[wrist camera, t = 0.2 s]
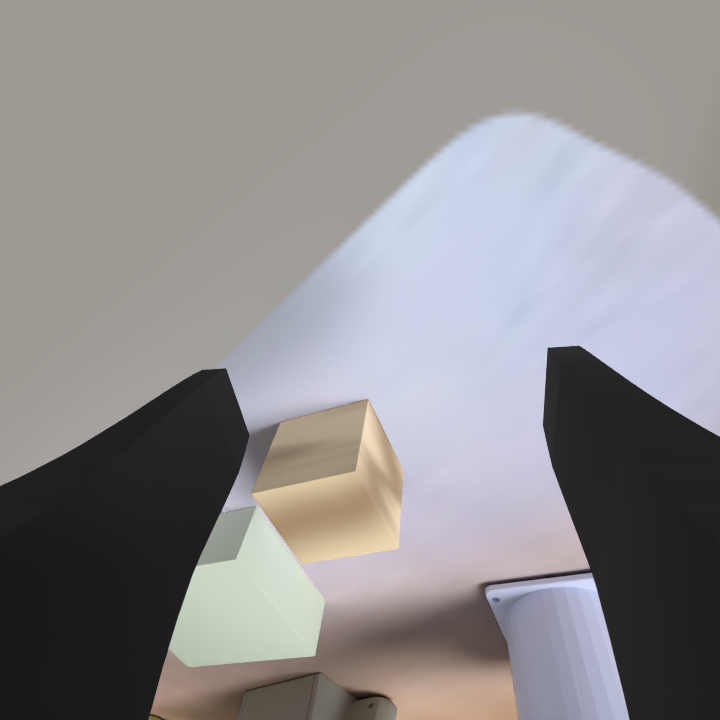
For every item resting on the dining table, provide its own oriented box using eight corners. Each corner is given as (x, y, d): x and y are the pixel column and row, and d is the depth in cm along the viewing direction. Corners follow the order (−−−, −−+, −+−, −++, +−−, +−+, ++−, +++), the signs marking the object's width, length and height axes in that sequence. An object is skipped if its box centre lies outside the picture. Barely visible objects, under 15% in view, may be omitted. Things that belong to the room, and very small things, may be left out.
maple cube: (403, 468, 25) (398, 548, 21) (321, 486, 27) (301, 563, 23) (368, 397, 23) (355, 471, 19) (281, 420, 25) (251, 493, 20)
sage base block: (326, 596, 33) (314, 656, 30) (210, 611, 36) (188, 667, 33) (258, 501, 29) (235, 559, 25) (132, 528, 32) (97, 582, 28)
